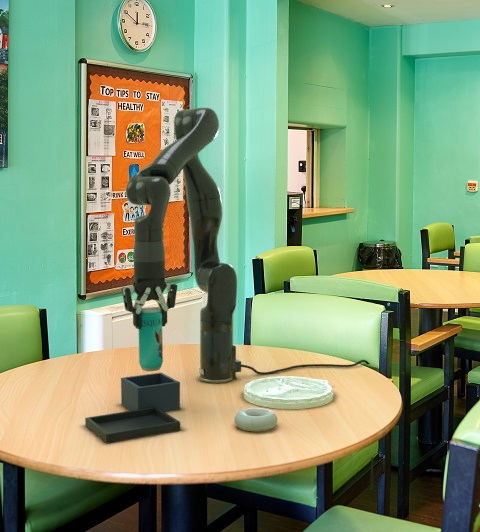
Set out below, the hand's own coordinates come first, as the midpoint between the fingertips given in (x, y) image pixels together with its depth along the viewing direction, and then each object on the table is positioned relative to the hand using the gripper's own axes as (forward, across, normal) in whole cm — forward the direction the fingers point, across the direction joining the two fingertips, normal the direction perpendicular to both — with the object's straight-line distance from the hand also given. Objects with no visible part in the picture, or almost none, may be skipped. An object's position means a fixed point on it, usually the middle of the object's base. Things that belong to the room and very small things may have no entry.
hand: (150, 326), depth 200 cm
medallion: (+21, +37, -8) cm, 43 cm away
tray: (+20, -10, -13) cm, 26 cm away
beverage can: (+11, 0, 0) cm, 11 cm away
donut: (+21, +14, -26) cm, 36 cm away
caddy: (+20, 0, 0) cm, 20 cm away
